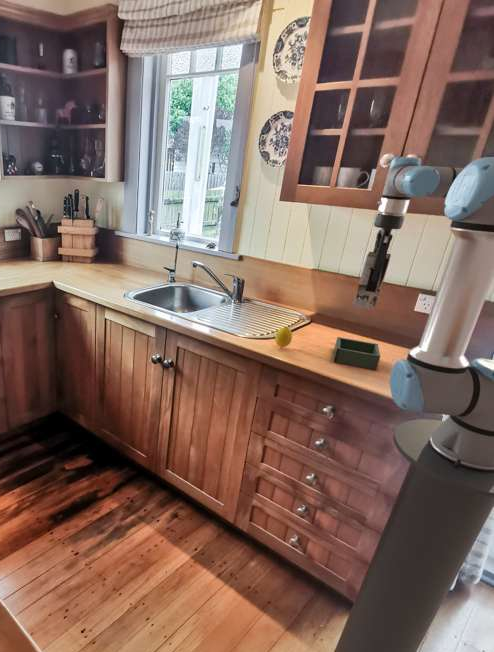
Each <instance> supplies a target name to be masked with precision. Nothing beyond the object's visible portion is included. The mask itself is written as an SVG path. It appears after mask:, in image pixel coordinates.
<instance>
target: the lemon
mask: <svg viewBox="0 0 494 652" xmlns="http://www.w3.org/2000/svg"><path fill="white" fill-rule="evenodd" d="M274 338H275V339H274V341H275V343H276V345H277V346H278V347H279V348H280V349H283V348H285V347H289V345H290V344H291V342H292V340H293V333H292V330H291V329H290V328H288V326H284V327H281V328H279V329H278V330H277V332H276V334H275V337H274Z"/></svg>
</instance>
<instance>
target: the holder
mask: <svg viewBox="0 0 494 652" xmlns="http://www.w3.org/2000/svg"><path fill="white" fill-rule="evenodd" d="M380 359H381V353H380V348H379V344H378V343H374V342H369V341H364V340H363V341H362V340H357V339H353V338H352V339H351V338H345V337H341V336H340V337H339V336H337V337H336V341H335V344H334V348H333V363H337V364H342V365H346V366H353V367H357V368H362V369H366V370H367V369H368V370H372V371H377V368H378V365H379V362H380Z"/></svg>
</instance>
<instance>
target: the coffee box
mask: <svg viewBox="0 0 494 652" xmlns="http://www.w3.org/2000/svg"><path fill="white" fill-rule="evenodd" d="M375 256H376V253H374V252H373V251H369V252H368V253H367V255H366V259H365V260H364V261H365V262H364V264H363V268H362V272H361V275H360V279H359V281H358V286H357V289H356V293H355V296H354V300H353V303H352V307H357V308H362V309H366V310H367V309H368V310H372V311H373V310H374V309H375V308H376V307H375V306H376V305H377V302H378V299H379V297H380V293H381V290H382V286H383V283H384V280H385V277H386V273H387V270H388V268H389V264H390V260H391V256H392V254H391V253H387V255H386V259H385V262H384V266H383V270H382V271H381V274H380V277H379V281H378V284H377V287H376V291H375V292H370V291H365V290H366V286H367V283H368V279H369V276H370V273H371V270H369V269H370V267H371V268H372V267H373V264H374V260H375ZM376 266H379V265H376Z"/></svg>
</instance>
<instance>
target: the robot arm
mask: <svg viewBox="0 0 494 652" xmlns="http://www.w3.org/2000/svg"><path fill="white" fill-rule="evenodd" d="M423 197H424V198H425V197H426V198H441V199H442V198H443V199H445V200H444V209H443V211H444V215H445V217H446V218H447V219H448V220H450V221H451V223H450V226H449V230H450V231H451V232H452V234H453V236H454V240H453V243H452V246H451V249H450V253H449V255H448V258H447V262H446V263H445V264H446V265H445V267H444V270H443V273H442V276H441V279H440V282H439V285H438V288H437V291H436V294H435V297H434V300H433V303H432V306H431V308H430V312H429V315H428V317H427V321H426V324H425V326H424V329H423V332H422V336H421V339H420V341H419V344H418V345H417V346H415V347H413V348H410V349H409V351H408V353H407V357H406V359H405V358H401V359H398V360H396V361H395V363H394V364H393V365H392V367H391V370H390V374H389V389H390V394H391V397H392V400H393V402H394V403H395V405H396V406H397V407H398V408H400V409H402V410H405V411H410V412H415V413H417V414H420V413H425V414H432V415H433V414H434V415H444V416H448V417H447V418H446V419H445V420H443V421H444V422H443V423H442V424H441V425H440V426H439V427H438V428H437V429H436V430H435V431H434V432H433V434H432V435H431V437H430V440H429V445H430V447H431V448H432V449H433V451H434V452H436V453H437V454H438V455H439V456H441V457H442V458H444V459H446V460H447V461H449V462H451V463H453V464H454V467H457V468H458V467H459V466H461V467H463V468H467V469H470V470H474V471H480V472H494V360H492V359H488V358H483V357H482V358H480V357H478V358H474V359H473V360H472V361H469V360H468V359H467V357H466V356H465V353H466V351H467V349H468V346H469V343H470V340H471V338H472V335H473V332H474V329H475V327H476V325H477V322H478V319H479V317H480V314H481V312H482V309H483V306H484V304H485V301H486V298H487V297H488V296H487V295H488V292H489V290H490V288H491V285H492V282H493V281H494V280H493V279H494V156H485V157H479V158H477V159H475V160H473V161H471V162H470V163H468V164H467V165H466V166H464V167H450V166H448V167H447V166H430V165H424V164H423V165H422V159H421V158H420V157H412V156H411V157H409V156H396V157H393V159H392V161H391V163H390V166H389V168H388V170H387V176H386V180H385V183H384V187H383V191H382V195H381V199H380V200H378V201H377V205H379V206H378V209H377V212H378V213H377V214H376V215H375V219H374V223H373V226H374V227H375V228H378V229H379V230H378V232H377V233H376V237H375V238H376V239H375V242H374V247H373V251H372V252H374V253H376V256H375V260H374V264H373V267H372V268H371V267H370V269H369V270H371V273H370V276H369V279H368V283H367V286H366V290H365V291H370V292H375V291H376V287H377V284H378V281H379V277H380V274H381V271H382V270H383V266H384V262H385V259H386V255H387V254H388V252H389V249H390V245H391V242H392V240H393V236H394V235H393V234H392V231H393V230H400V229H402V227H403V224H404V221H405V216H404V215H406V214H407V211H408V208H409V205H410V202H411V198H423ZM376 265H379V266H376Z"/></svg>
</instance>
